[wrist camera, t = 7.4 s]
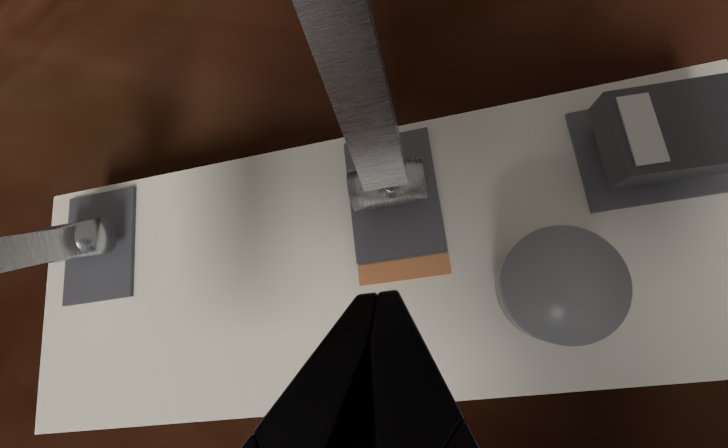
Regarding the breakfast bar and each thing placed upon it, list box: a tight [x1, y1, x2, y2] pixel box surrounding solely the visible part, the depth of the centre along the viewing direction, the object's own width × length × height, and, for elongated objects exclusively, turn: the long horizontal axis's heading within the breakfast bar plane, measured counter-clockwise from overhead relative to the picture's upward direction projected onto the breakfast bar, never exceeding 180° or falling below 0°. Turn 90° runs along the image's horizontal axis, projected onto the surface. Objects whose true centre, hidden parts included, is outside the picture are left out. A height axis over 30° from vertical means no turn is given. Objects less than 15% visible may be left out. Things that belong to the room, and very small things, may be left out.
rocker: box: [588, 73, 728, 189], centre depth 13 cm, size 3×4×1 cm
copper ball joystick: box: [292, 0, 428, 211], centre depth 11 cm, size 3×3×12 cm
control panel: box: [34, 59, 728, 435], centre depth 18 cm, size 11×30×3 cm, turn 97°
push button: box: [495, 225, 633, 346], centre depth 13 cm, size 4×4×2 cm
